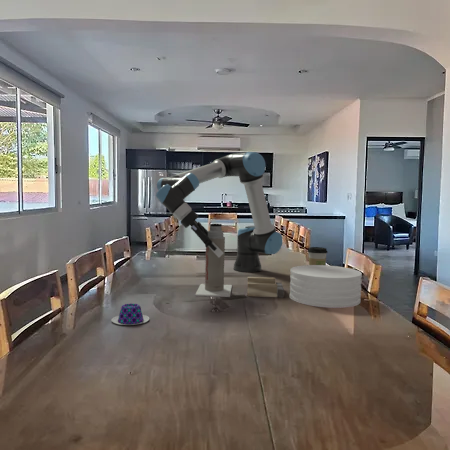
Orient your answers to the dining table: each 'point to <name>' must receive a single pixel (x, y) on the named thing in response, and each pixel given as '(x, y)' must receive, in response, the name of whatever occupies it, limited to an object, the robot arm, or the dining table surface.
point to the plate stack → (325, 286)
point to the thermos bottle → (215, 260)
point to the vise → (264, 287)
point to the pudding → (130, 315)
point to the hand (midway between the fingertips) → (222, 253)
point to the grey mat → (223, 293)
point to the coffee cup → (317, 255)
